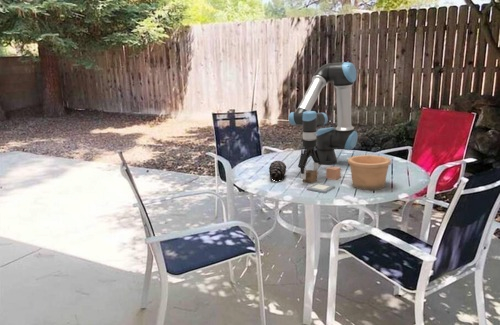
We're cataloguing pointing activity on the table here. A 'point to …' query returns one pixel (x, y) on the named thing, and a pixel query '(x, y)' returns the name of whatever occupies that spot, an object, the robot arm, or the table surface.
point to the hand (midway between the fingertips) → (309, 176)
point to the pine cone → (277, 170)
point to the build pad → (321, 188)
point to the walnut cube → (310, 176)
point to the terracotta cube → (333, 173)
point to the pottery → (369, 171)
